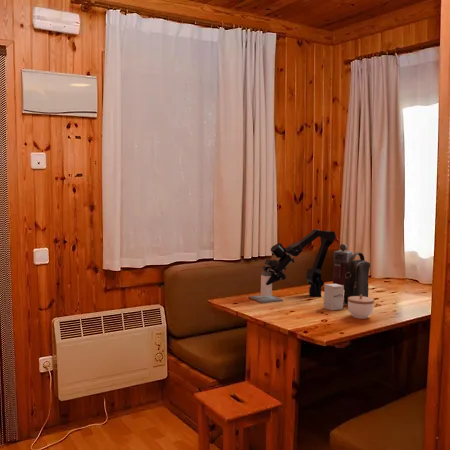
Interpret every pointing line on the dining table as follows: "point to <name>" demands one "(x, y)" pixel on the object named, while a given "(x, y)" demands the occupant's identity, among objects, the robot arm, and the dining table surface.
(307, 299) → the dining table surface
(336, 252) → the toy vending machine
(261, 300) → the pad
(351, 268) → the shoulder bag
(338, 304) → the supplement box
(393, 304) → the dining table surface
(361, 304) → the lidded bowl
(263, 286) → the block
